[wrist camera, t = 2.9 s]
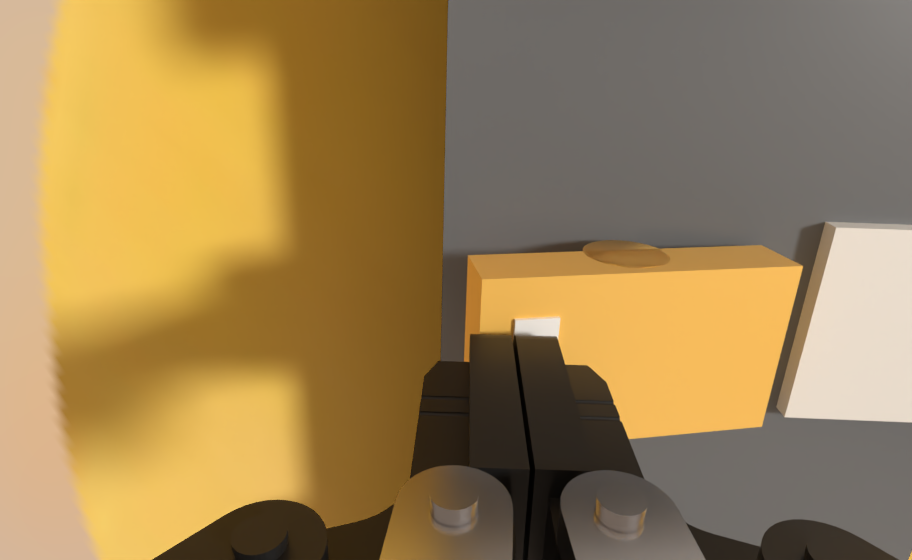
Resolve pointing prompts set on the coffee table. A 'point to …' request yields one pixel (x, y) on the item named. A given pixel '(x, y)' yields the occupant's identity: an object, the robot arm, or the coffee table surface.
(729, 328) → the block
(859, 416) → the rocker switch panel
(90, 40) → the coffee table surface
